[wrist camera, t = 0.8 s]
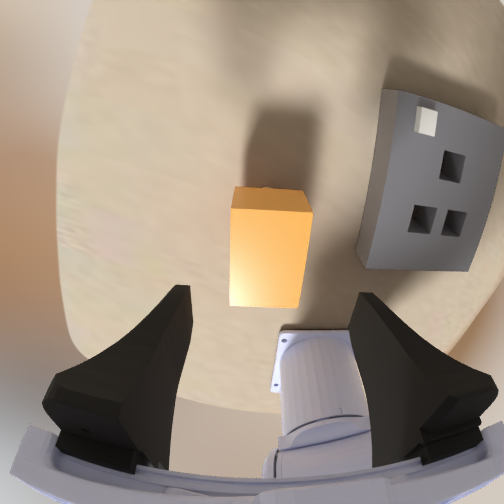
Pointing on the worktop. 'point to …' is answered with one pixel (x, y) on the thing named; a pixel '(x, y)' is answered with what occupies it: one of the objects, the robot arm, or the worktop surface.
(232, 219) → the plug
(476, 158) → the socket
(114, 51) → the worktop surface
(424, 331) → the worktop surface
